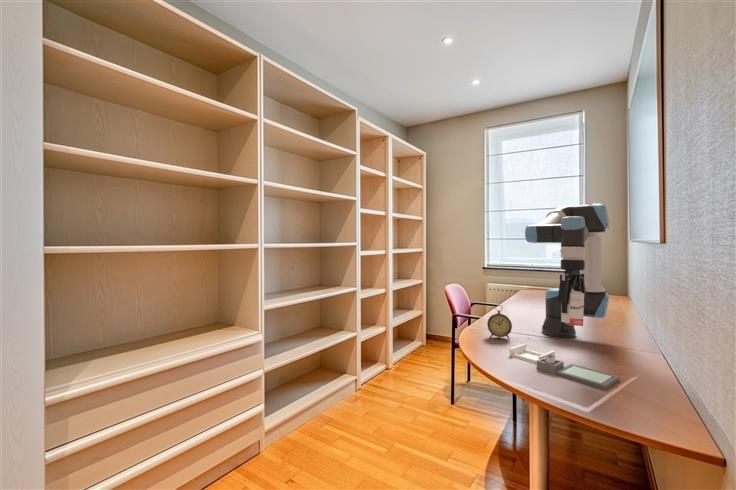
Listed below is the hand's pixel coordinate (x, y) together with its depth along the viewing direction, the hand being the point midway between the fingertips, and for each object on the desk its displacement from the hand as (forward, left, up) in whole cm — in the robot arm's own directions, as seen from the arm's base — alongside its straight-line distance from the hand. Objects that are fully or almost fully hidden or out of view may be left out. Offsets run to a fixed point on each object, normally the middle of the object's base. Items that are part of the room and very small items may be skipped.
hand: (572, 320), depth 125 cm
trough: (+1, -15, -18) cm, 24 cm away
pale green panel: (+5, +7, -17) cm, 19 cm away
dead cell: (+8, -4, -17) cm, 20 cm away
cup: (+8, -4, -18) cm, 20 cm away
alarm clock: (-16, -40, -19) cm, 47 cm away
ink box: (0, 0, -1) cm, 1 cm away
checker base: (+5, +7, -18) cm, 20 cm away
